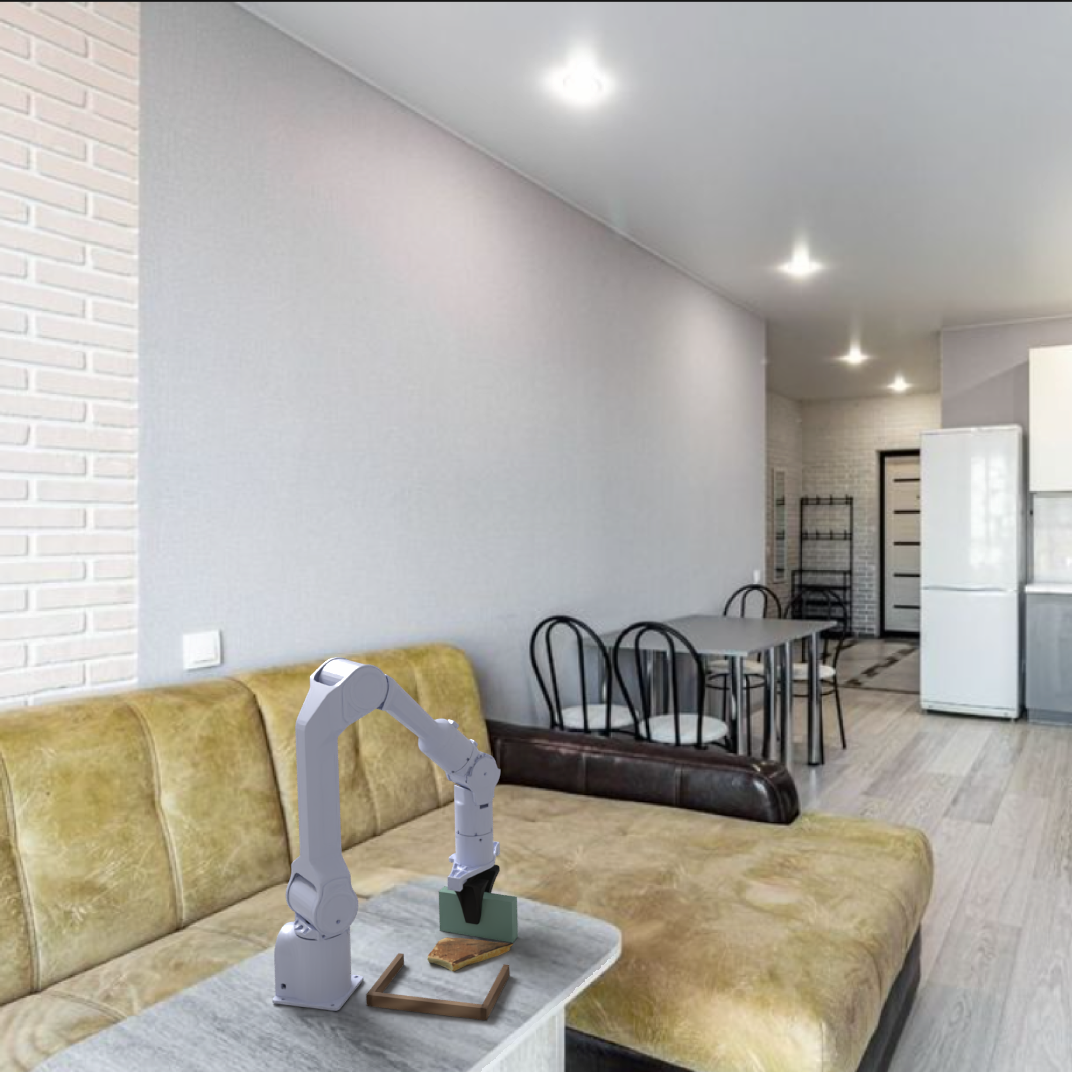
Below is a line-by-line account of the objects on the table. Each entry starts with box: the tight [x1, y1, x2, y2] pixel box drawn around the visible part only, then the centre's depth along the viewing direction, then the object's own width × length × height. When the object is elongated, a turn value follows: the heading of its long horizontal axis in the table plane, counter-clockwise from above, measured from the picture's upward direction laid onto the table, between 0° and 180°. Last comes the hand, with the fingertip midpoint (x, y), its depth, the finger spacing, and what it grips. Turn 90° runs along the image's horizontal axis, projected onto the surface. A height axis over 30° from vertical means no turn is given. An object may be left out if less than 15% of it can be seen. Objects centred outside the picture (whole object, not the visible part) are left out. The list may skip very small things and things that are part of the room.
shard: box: [427, 937, 514, 972], centre depth 126 cm, size 11×8×2 cm
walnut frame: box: [365, 952, 510, 1021], centre depth 118 cm, size 16×11×2 cm
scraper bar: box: [438, 885, 519, 944], centre depth 133 cm, size 12×2×6 cm, turn 69°
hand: (476, 918), depth 133 cm, fingers closed on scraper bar, 2 cm apart
